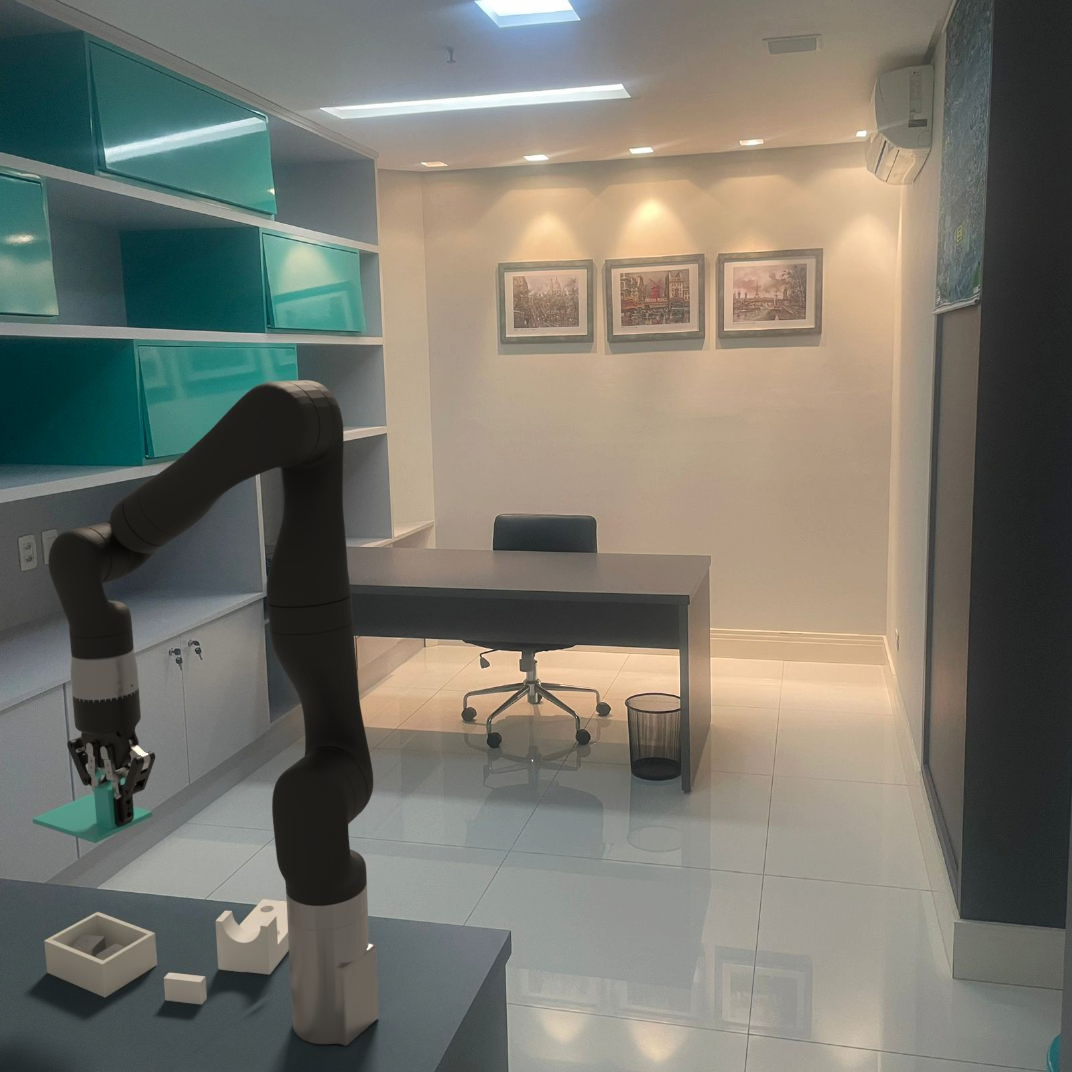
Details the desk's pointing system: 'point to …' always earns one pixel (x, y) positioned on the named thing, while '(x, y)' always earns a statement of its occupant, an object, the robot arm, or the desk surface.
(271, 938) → the bracket
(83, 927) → the tub
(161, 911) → the desk surface
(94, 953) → the block
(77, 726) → the robot arm
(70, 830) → the lid
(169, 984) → the eraser
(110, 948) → the block
